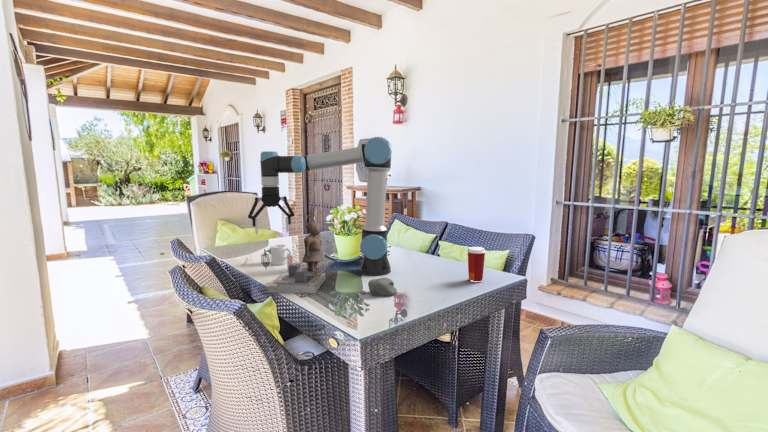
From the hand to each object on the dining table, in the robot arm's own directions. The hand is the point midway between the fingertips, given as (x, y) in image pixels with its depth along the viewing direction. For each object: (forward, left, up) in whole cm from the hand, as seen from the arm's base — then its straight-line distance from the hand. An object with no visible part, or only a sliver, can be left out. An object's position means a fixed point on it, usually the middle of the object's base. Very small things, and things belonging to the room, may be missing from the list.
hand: (272, 232), depth 174 cm
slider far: (-11, +3, -19) cm, 22 cm away
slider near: (-17, +13, -19) cm, 28 cm away
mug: (+6, -29, -23) cm, 37 cm away
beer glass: (-93, -3, -23) cm, 95 cm away
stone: (-52, +17, -23) cm, 59 cm away
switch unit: (-14, +8, -22) cm, 27 cm away
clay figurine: (-14, -18, -23) cm, 32 cm away
